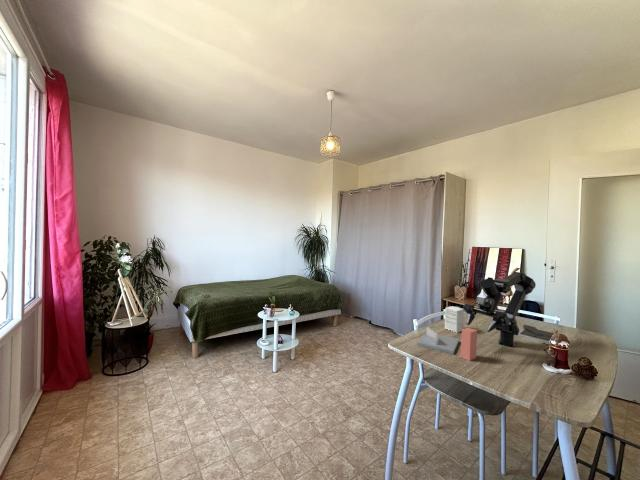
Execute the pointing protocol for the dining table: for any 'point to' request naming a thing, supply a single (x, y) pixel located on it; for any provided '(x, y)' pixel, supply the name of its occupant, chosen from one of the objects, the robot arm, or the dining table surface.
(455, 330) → the supplement box
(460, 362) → the dining table surface
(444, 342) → the shelf board
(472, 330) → the boxed book
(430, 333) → the bookend
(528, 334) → the picture frame
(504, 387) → the dining table surface
